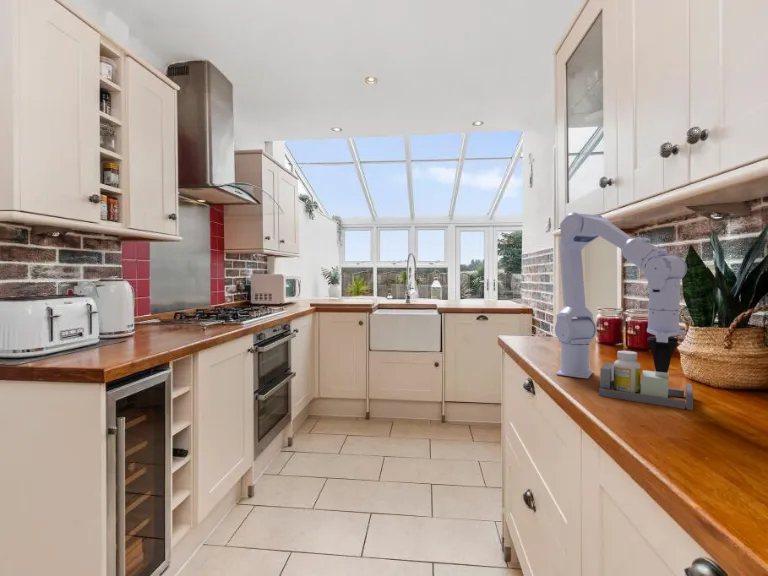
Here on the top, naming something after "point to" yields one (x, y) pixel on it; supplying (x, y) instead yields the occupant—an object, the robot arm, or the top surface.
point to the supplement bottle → (627, 372)
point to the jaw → (654, 383)
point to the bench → (608, 391)
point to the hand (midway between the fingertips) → (661, 370)
